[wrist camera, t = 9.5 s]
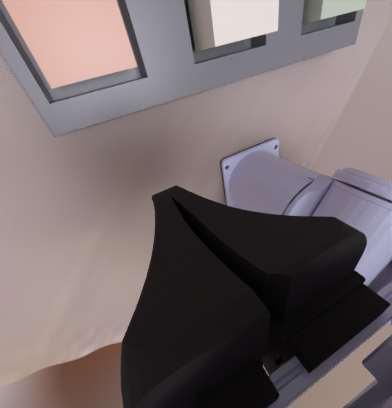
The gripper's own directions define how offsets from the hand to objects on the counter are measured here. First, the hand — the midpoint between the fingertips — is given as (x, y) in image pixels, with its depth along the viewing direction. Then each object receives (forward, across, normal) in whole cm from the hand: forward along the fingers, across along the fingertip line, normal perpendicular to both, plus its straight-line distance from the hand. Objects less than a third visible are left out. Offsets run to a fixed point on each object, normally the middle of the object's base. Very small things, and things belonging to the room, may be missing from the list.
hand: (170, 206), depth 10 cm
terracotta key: (+10, +1, -8) cm, 13 cm away
